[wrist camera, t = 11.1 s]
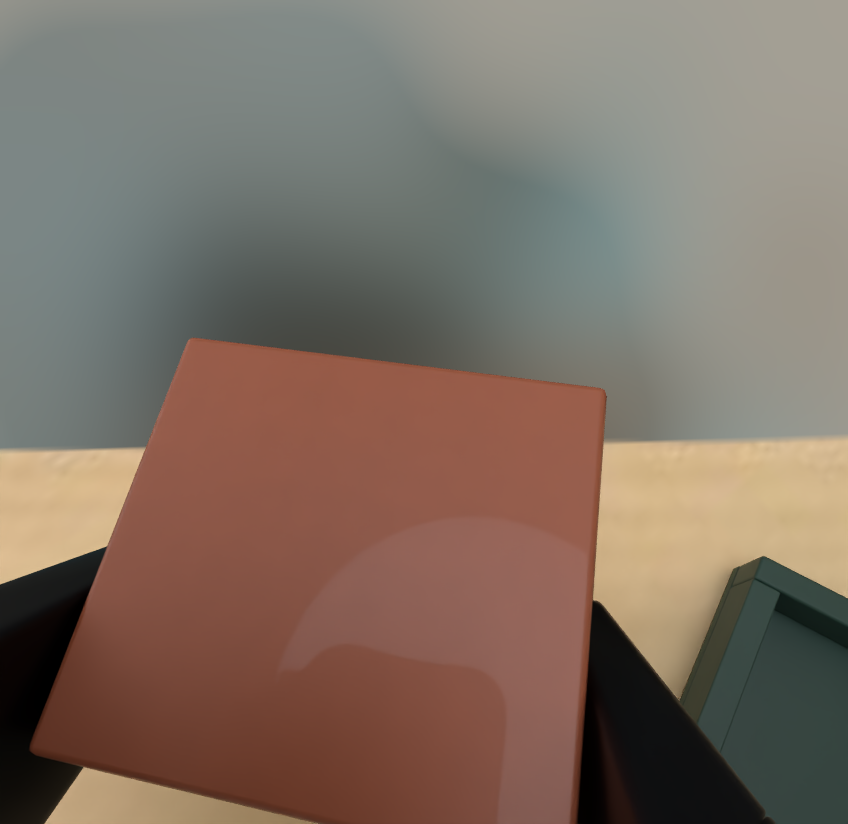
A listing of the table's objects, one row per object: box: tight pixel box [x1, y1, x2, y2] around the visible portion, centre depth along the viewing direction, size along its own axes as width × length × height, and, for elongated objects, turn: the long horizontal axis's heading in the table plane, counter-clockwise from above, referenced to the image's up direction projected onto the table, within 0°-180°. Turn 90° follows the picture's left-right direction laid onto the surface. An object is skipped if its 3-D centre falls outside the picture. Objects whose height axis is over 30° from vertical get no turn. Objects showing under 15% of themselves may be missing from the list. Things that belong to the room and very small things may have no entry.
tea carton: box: [29, 338, 607, 824], centre depth 11 cm, size 5×6×8 cm
